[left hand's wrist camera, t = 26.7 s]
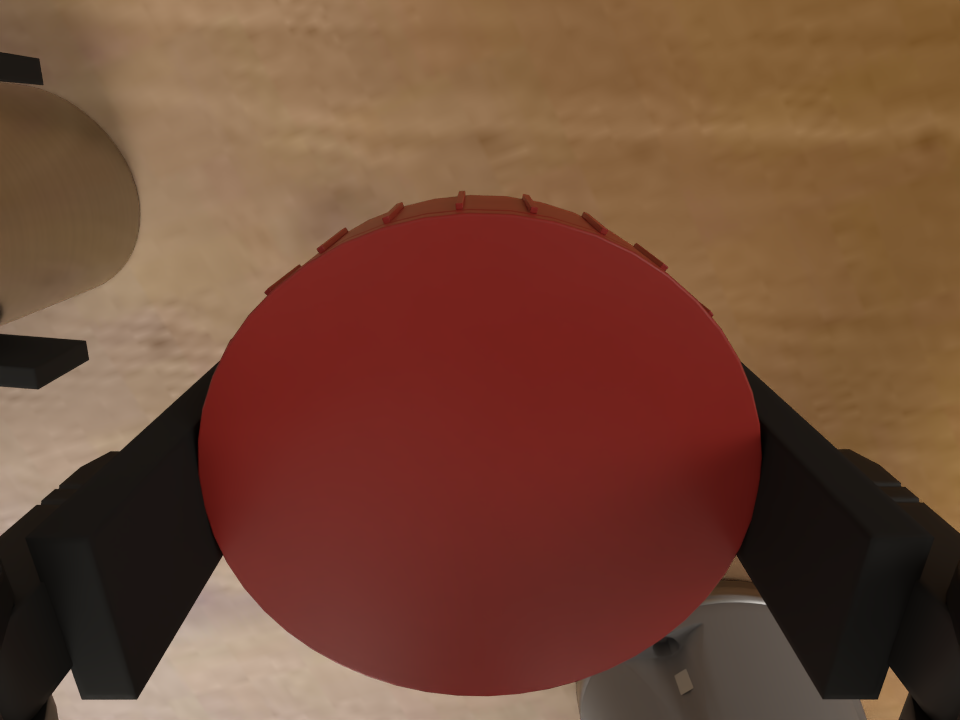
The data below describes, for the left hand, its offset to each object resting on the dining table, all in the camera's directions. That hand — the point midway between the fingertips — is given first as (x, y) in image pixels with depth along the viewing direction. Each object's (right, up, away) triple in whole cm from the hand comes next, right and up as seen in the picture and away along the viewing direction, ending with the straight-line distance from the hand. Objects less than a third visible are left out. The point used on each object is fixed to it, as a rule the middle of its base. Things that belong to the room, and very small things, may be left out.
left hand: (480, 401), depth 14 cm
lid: (0, -1, -3) cm, 4 cm away
